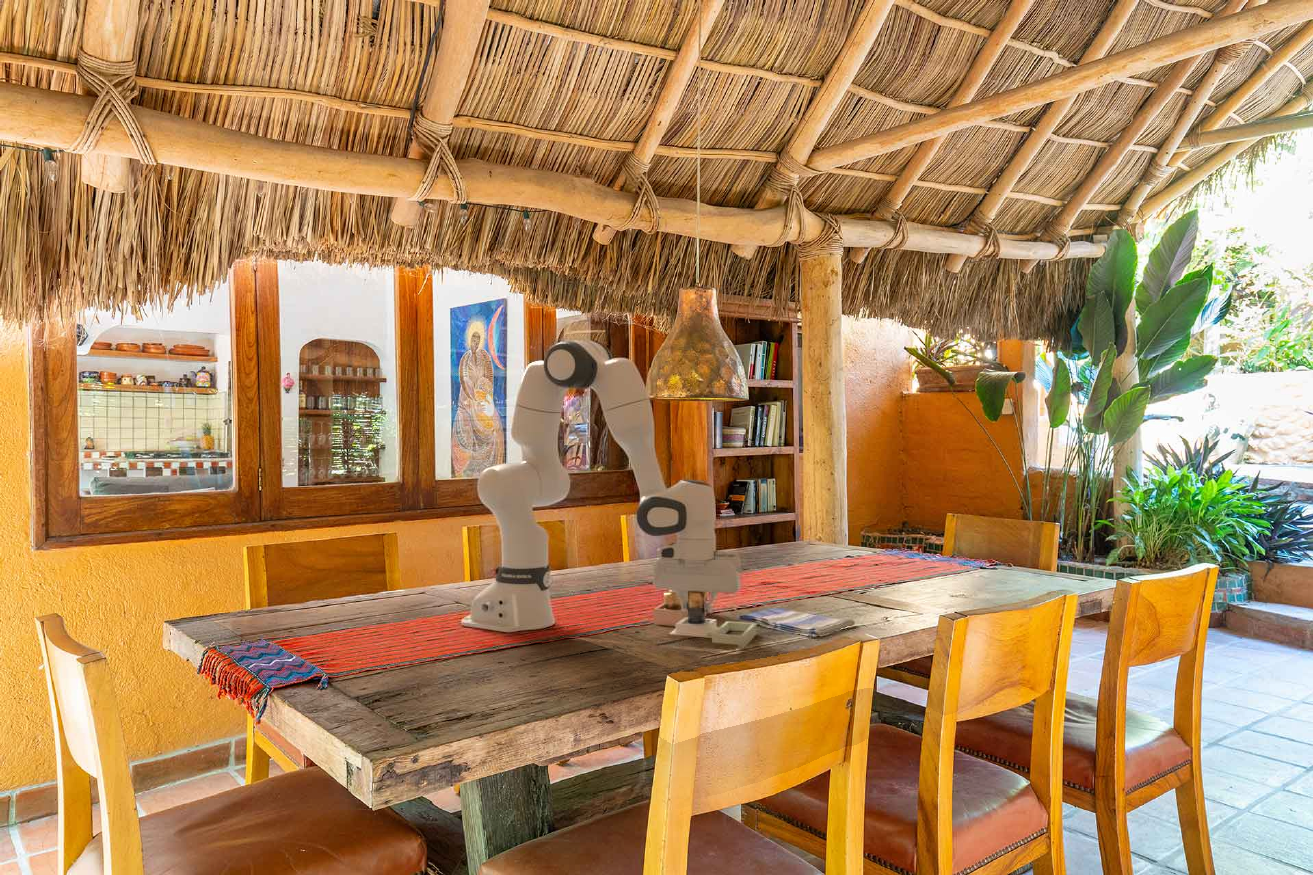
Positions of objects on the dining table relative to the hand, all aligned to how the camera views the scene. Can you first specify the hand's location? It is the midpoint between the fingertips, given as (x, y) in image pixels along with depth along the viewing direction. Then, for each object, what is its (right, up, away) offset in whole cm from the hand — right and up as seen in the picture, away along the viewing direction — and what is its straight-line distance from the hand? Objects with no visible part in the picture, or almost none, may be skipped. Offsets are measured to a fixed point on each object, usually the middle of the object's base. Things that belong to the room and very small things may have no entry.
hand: (696, 610), depth 198 cm
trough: (+8, -6, -5) cm, 11 cm away
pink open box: (-5, -6, +9) cm, 12 cm away
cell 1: (-5, -5, +9) cm, 12 cm away
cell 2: (0, -3, 0) cm, 3 cm away
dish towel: (+25, -6, +11) cm, 28 cm away
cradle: (0, -6, 0) cm, 6 cm away
